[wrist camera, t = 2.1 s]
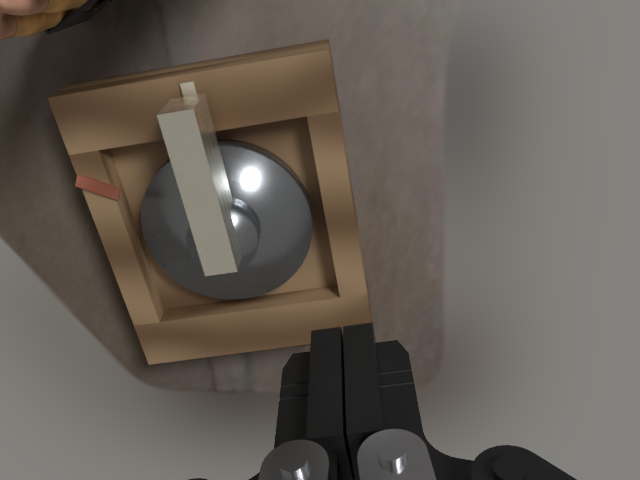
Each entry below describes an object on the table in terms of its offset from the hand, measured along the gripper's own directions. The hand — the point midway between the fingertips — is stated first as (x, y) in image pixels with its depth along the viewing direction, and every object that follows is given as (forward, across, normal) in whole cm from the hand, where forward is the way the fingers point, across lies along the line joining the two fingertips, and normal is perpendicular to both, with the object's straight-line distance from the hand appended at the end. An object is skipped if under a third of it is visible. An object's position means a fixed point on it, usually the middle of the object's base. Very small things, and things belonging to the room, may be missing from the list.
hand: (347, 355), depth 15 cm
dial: (+21, +7, +3) cm, 23 cm away
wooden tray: (+23, +7, +5) cm, 24 cm away
